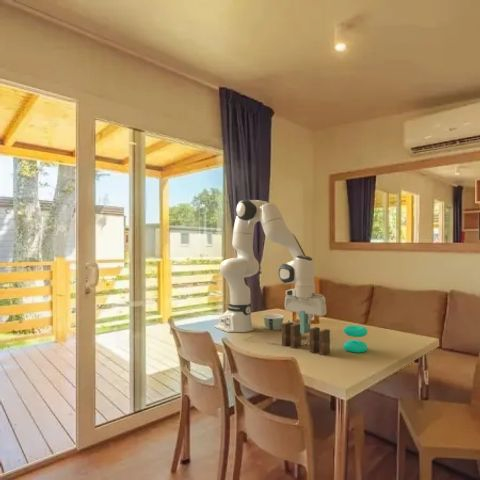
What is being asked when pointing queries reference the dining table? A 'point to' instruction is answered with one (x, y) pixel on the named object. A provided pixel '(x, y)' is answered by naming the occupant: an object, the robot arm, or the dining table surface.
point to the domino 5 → (324, 341)
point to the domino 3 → (304, 323)
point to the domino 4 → (314, 339)
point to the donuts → (355, 344)
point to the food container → (273, 321)
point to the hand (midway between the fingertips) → (305, 323)
